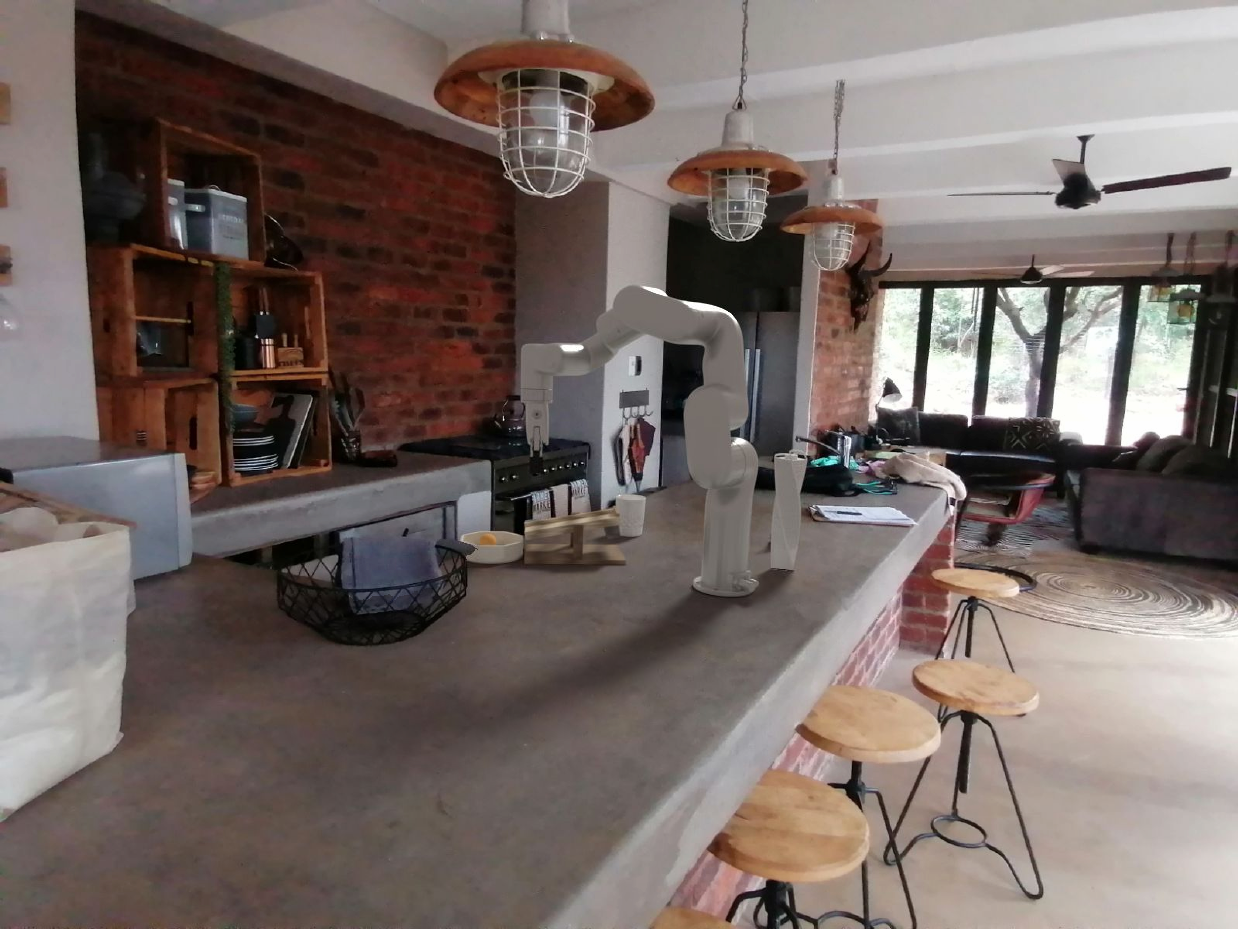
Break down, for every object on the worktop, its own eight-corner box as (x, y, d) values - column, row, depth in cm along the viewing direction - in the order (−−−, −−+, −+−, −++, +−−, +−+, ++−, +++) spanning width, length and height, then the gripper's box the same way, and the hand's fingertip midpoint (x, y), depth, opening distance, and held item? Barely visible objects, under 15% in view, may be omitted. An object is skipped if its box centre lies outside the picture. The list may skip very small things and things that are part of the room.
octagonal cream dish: (523, 547, 192) (523, 531, 191) (523, 563, 178) (523, 546, 177) (462, 547, 190) (462, 530, 189) (457, 563, 176) (457, 545, 175)
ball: (486, 529, 182) (473, 540, 182) (496, 542, 181) (482, 553, 181) (492, 531, 186) (479, 543, 186) (502, 544, 184) (489, 555, 184)
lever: (615, 522, 197) (612, 500, 196) (623, 537, 182) (619, 513, 181) (527, 536, 195) (524, 514, 194) (527, 553, 180) (523, 529, 179)
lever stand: (618, 548, 194) (620, 512, 193) (625, 564, 181) (627, 525, 179) (524, 547, 192) (525, 511, 190) (524, 563, 178) (525, 524, 176)
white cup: (641, 538, 206) (642, 500, 204) (611, 536, 207) (613, 498, 206) (646, 532, 214) (648, 495, 212) (617, 529, 215) (619, 493, 214)
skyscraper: (799, 573, 179) (809, 450, 175) (766, 570, 181) (774, 448, 176) (798, 564, 187) (807, 446, 183) (766, 561, 188) (775, 444, 184)
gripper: (553, 398, 180) (552, 478, 183) (551, 395, 195) (550, 468, 198) (520, 397, 180) (520, 477, 182) (520, 394, 194) (520, 468, 197)
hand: (536, 473), depth 190 cm, fingers closed
